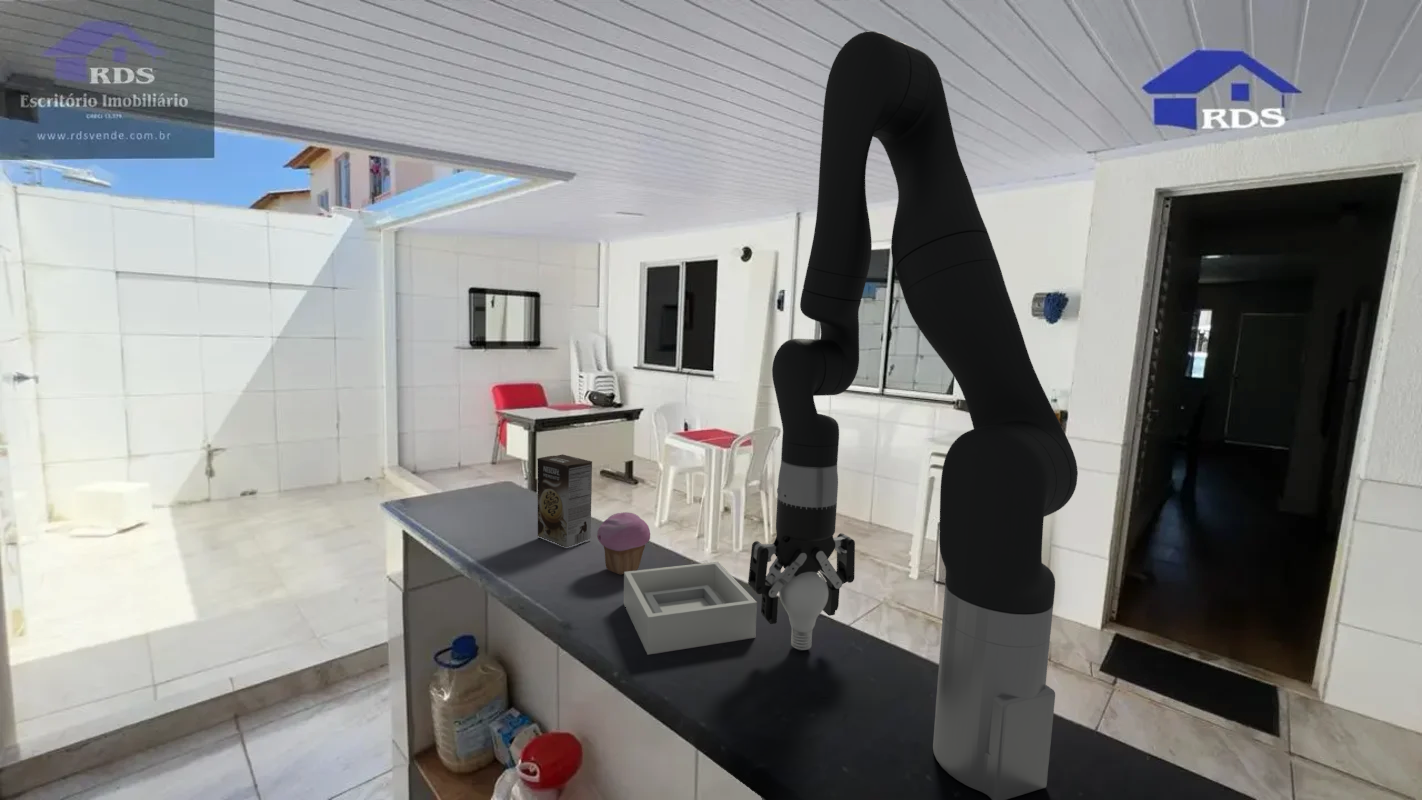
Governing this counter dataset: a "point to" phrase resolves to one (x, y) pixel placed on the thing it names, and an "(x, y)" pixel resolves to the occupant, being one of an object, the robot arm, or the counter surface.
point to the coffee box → (564, 499)
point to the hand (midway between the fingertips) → (800, 616)
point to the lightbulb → (804, 605)
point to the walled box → (688, 607)
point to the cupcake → (623, 541)
